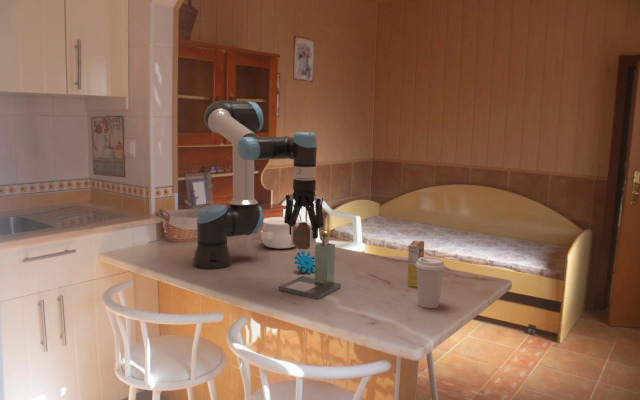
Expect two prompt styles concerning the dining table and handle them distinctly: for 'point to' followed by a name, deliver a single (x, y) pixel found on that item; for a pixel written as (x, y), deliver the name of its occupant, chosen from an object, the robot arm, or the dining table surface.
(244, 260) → the dining table surface
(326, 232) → the ram pin
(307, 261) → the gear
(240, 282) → the dining table surface
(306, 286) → the base
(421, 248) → the candy box
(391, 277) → the dining table surface
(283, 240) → the pot
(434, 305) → the coffee cup
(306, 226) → the vase
